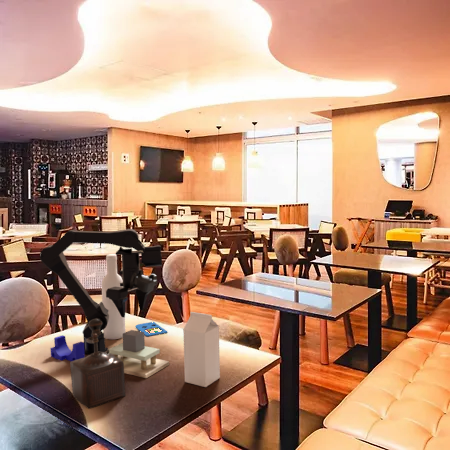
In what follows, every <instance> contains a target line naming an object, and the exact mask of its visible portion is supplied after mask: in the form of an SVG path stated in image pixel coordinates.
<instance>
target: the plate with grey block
mask: <svg viewBox="0 0 450 450" xmlns="http://www.w3.org/2000/svg"><path fill="white" fill-rule="evenodd" d="M108 350H109V353H111V354H115V355H120V356H125V357H129V358H134V359H139V360H143V361H146V360H147V359H149V358H151V357H153V356H155V355H156V356H157V355H159V354H160V353H161V351H160V348H156V347H153V346H152V347H151V346H146V345H145V335H144V332H140V331H139V330H133V329H130V330H128V331H126V332H125V333H123V337H122V342H121V343H119V344H116V345H115V346H112V347H110V348H108Z"/></svg>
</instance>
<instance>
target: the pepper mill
mask: <svg viewBox="0 0 450 450" xmlns="http://www.w3.org/2000/svg"><path fill="white" fill-rule="evenodd" d="M88 325H89V328H90V329H91V330H92V335H91V336H92V337H90V338H88V339H86V342H88V343H94V353H92V354H90V355H88V354H87V356H85V357H84V358H81V359H78V360H74V361H70V363H69V365H70V378H71V379H70V380H71V389H72V393H71V394H72V396H73V398H74V399H75V400H77V402H79V404H82V405H83V406H85V407H86V408H87V409H92V408H96V407H99V406H102V405H104V404H107V403H111V402H113V401H115V400H119V399H121V398H124V397H126V392H125V389H126V388H125V373H124V363H123V361H122V360H120V359H118V358H117V357H115V355H113V354H111V353H109V350H106V351H104V352H100V351H98V344H97V342H98V339H97V337H98V336H99V335H101V334H102V333H101V332H100V328H101V326H102V321H101V320H100V319H92V320H91V321H89V324H88ZM92 339H93V340H92Z"/></svg>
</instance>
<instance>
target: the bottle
mask: <svg viewBox="0 0 450 450" xmlns="http://www.w3.org/2000/svg"><path fill="white" fill-rule="evenodd" d="M105 260H106V274H105V276H104V277H103V278H102V281H101V302H102V303H103V305H104V307H105V308H106V309H107V310H109V311H108V314H109V320H108V323H107V326H106V328H105V329H104V330H102V332H103V333H104V338H105V340H118V339H119V340H120V339H123V333H125V332H127V331H126V316H125V317H121V315H120V313H119V311H118V309H117V307H116V306H115V304H114V303H113V301H112V300H111V299H109V298H107V297H106V290H107V289H108V288H112V287H122V286H120V283H123V278H122V275H121V274H118V264H117V263H118V261H117V260H118V255H116V253H110V254H109V253H108V254H106V257H105Z"/></svg>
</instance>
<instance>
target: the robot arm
mask: <svg viewBox="0 0 450 450" xmlns="http://www.w3.org/2000/svg"><path fill="white" fill-rule="evenodd" d="M73 244H103V245H104V244H105V245H106V244H108V245H113V246H116V247H117V246H118V247H119V248H118V250H117V251H116V252H115V254H116V255H117V256H121V270H119V275H121V278H122V280H123V283H120V286H122V287H112V288H108V289H107V290H106V297H107V298H109V299H111V300H112V301H113V303H114V304H115V306H116V307H117V309H118V311H119V313H120V315H121V317H125V318H126V302H127V301H128V299H129V297H127V296H129V295H128V294H129V293H130V292H134V291H135V294H136V295H135V296H136V299H137V303H138V308H139V310H140V311H144V308H145V305H146V301H147V298H148V296H149V294H150V293H151V292H153V291H154V289H155V288H156V285H158V278H157V275H156V274H155V273H151V274H149V275H144V271H143V269H141V267H140V259H141V265H144V266H145V267H146V268H148V267H162V266H163V260H162V259H163V258H162V249H161V248H162V247H161V245H154V246H153V245H152V246H151V245H149V246H145V245H144V243H142V241H141V240H140V238H139V233H138V232H137V231H136V230H135V229H132V228H126V229H121V230H120V229H119V230H115V231H93V230H92V231H86V230H74V229H71V230H68V231H66V232H64V235H62V236H61V237H60V238H59V239H58V240H57V241H55V243H54V244H51V245H48V246H46V247H45V248H43V249H42V250H41V251H40V254H39V260H40V261H41V263H43V264H44V266H45V267H47V268H48V270H49V271H52V272H53V273H55V274H56V275H57V277H58V278H59V279H60V281H62V283H63V285H64V286H65V288H66V289H67V290H68V291H69V293H70V294H71V295H72V297H73V298H74V300H75V301H76V302H77V303H78V305H79V306H80V308H81V309H82V312H83V313H84V317H85V319H86V323H85V325H84V328H83V330H82V334H83V335H82V336H83V342H84V352H85V355H87V356H88V355H90V354H92V353H94V343H88V342H86V339H88V338H90V337H92V336H91V335H92V330H91V329H90V328H89V325H88V324H89V321H91V320H92V319H100V320H101V321H102V326H101V328H100V332H101V333H102V334H101V335H99V336H98V337H97V339H98V342H97V344H98V351H100V352H107V350H108V349H109V348H108V347H106V338H104V333H103V330H104V329H105V328H106V326H107V323H108V320H109V314H108V311H109V310H107V309H106V308H105V307H104V305H103V303H102V301H100V302H99V303H98V302H96V300H94V299H93V298H92V297H91V295H90V294H89V292H88V291H87V290H86V288H85V287H84V285H83V284H82V283H81V281H80V280H79V278H78V277H77V276H76V274H75V273H74V272H73V271H72V269H71V268H70V267H69V264H68V261H67V258H66V255H65V253H64V252H65V251H66V250H67V249H68V248H69V247H70V246H71V245H73ZM140 254H141V257H140ZM92 340H93V339H92Z"/></svg>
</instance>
